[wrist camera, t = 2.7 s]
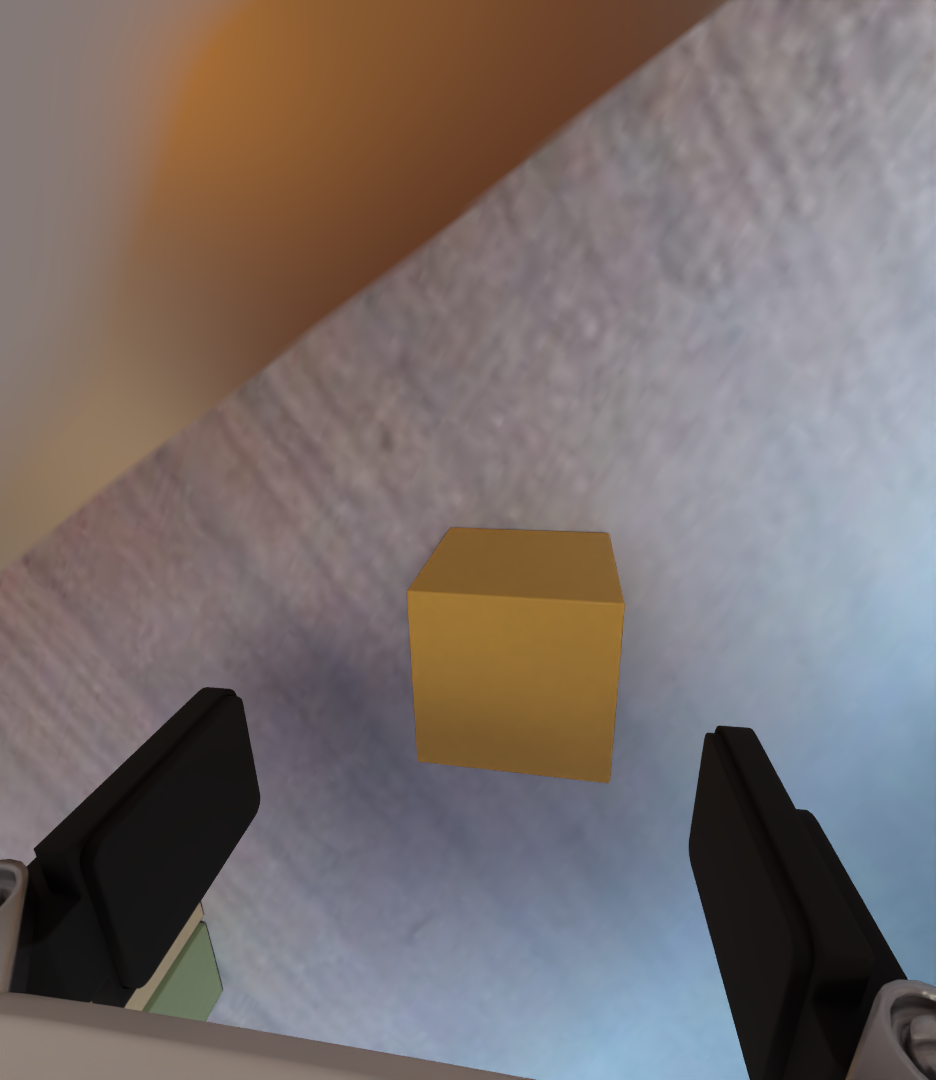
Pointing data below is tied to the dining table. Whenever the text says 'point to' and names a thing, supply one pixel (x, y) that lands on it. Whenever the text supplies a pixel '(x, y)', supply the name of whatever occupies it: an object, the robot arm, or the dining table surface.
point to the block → (189, 981)
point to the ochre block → (517, 652)
